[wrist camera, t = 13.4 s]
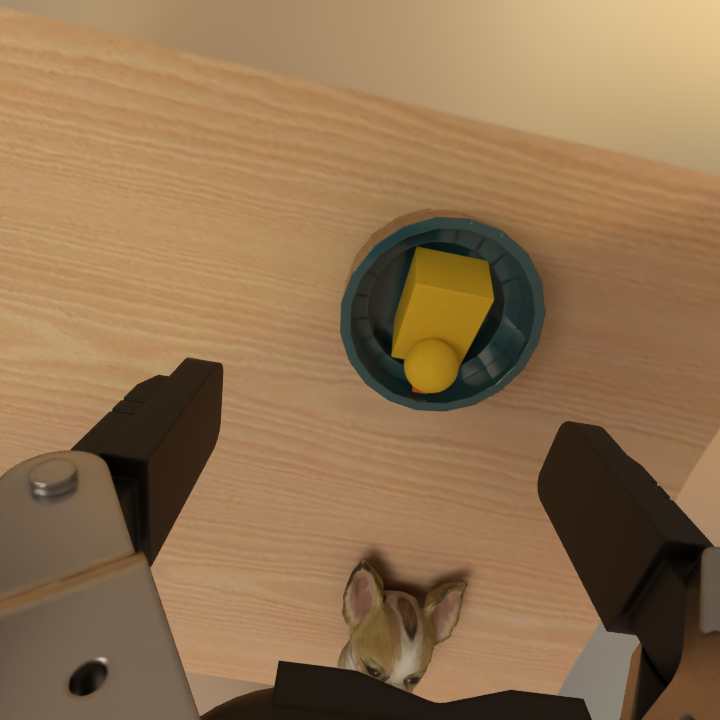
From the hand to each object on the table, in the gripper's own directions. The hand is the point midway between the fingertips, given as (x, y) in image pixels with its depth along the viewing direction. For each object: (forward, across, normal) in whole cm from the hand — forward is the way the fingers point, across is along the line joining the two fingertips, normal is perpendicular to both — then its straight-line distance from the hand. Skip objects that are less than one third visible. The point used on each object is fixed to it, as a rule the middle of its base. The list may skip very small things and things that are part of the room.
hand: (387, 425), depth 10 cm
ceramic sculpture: (+20, -8, +33) cm, 39 cm away
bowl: (+21, -4, +2) cm, 21 cm away
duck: (+19, -4, +1) cm, 19 cm away
